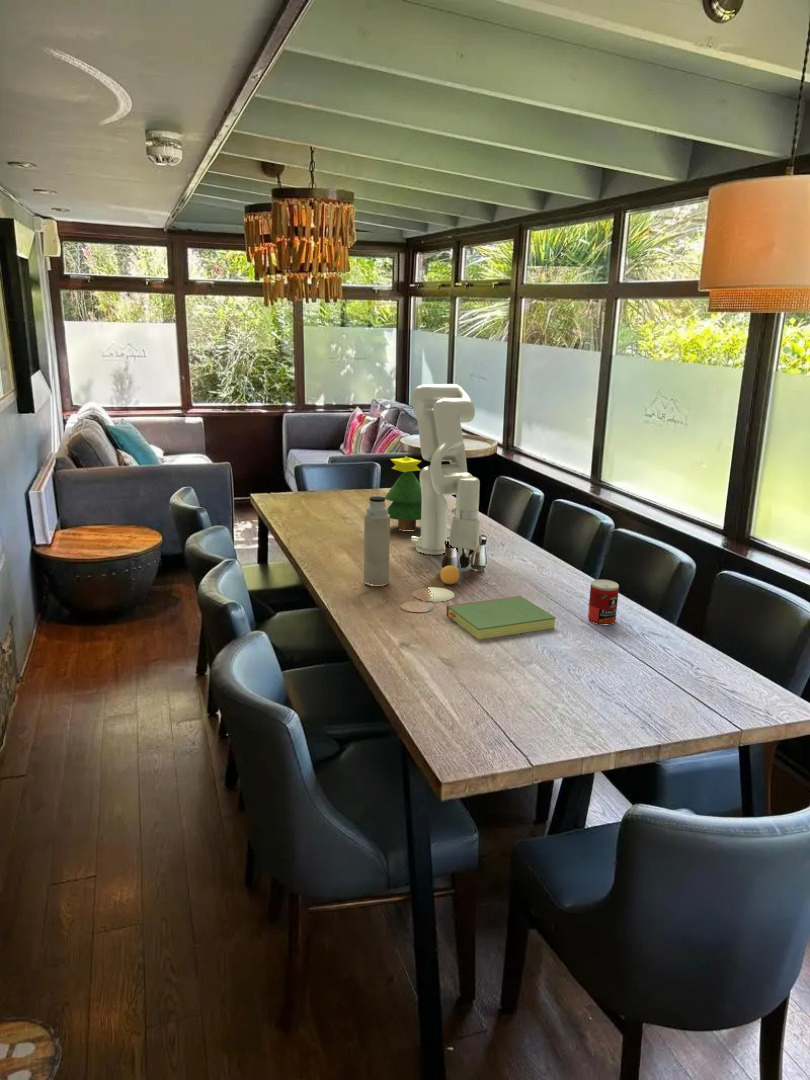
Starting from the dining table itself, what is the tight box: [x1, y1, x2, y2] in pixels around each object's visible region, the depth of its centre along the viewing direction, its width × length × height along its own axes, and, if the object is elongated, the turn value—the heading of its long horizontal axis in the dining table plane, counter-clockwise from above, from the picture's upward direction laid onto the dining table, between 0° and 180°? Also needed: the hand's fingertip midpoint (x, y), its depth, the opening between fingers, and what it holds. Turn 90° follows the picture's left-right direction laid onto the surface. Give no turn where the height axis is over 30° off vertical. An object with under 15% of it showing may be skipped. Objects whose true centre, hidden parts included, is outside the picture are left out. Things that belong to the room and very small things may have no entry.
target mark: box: [428, 586, 455, 603], centre depth 238 cm, size 13×13×1 cm
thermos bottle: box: [363, 495, 391, 585], centre depth 244 cm, size 8×8×28 cm
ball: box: [439, 565, 460, 585], centre depth 248 cm, size 6×6×6 cm
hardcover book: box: [446, 595, 557, 640], centre depth 217 cm, size 25×19×4 cm
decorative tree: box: [384, 455, 422, 531], centre depth 309 cm, size 19×19×30 cm
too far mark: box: [426, 602, 435, 612], centre depth 228 cm, size 10×10×1 cm
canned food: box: [587, 579, 620, 625], centre depth 219 cm, size 8×8×11 cm
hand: (464, 566), depth 262 cm, fingers closed
